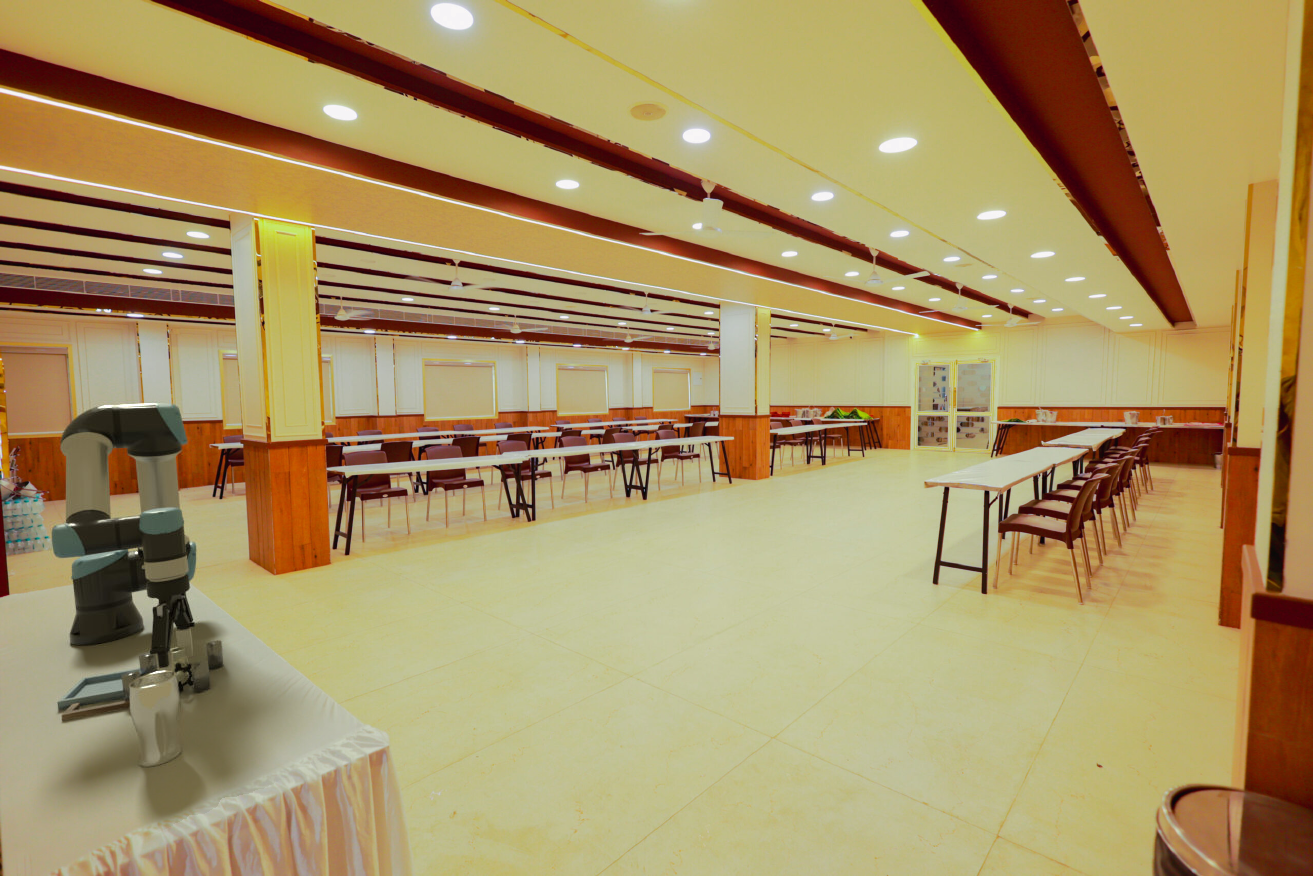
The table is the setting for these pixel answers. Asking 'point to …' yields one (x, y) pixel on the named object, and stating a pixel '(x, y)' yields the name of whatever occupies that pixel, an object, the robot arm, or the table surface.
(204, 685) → the spacers
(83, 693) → the tray
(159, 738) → the beer glass
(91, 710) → the hook tool
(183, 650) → the valve
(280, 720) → the table surface
